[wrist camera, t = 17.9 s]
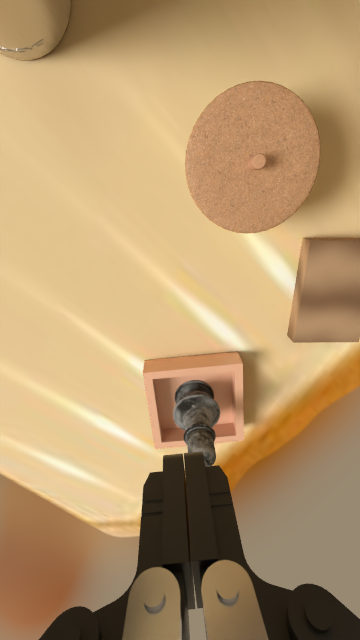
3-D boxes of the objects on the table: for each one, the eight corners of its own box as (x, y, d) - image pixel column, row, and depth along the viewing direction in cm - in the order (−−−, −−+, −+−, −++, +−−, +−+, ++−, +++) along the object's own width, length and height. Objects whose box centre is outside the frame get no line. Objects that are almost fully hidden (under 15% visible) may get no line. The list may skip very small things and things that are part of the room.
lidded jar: (299, 196, 32) (347, 196, 24) (207, 242, 34) (221, 258, 25) (264, 85, 28) (307, 37, 20) (163, 143, 30) (161, 121, 21)
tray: (144, 360, 39) (142, 373, 36) (237, 351, 39) (242, 363, 36) (155, 432, 44) (155, 449, 41) (239, 424, 44) (243, 440, 41)
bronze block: (300, 237, 34) (310, 240, 32) (370, 237, 35) (384, 240, 32) (286, 333, 39) (293, 342, 37) (347, 333, 39) (358, 341, 37)
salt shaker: (210, 417, 42) (225, 496, 31) (168, 410, 42) (168, 489, 30) (221, 381, 40) (241, 453, 29) (177, 374, 39) (181, 445, 28)
